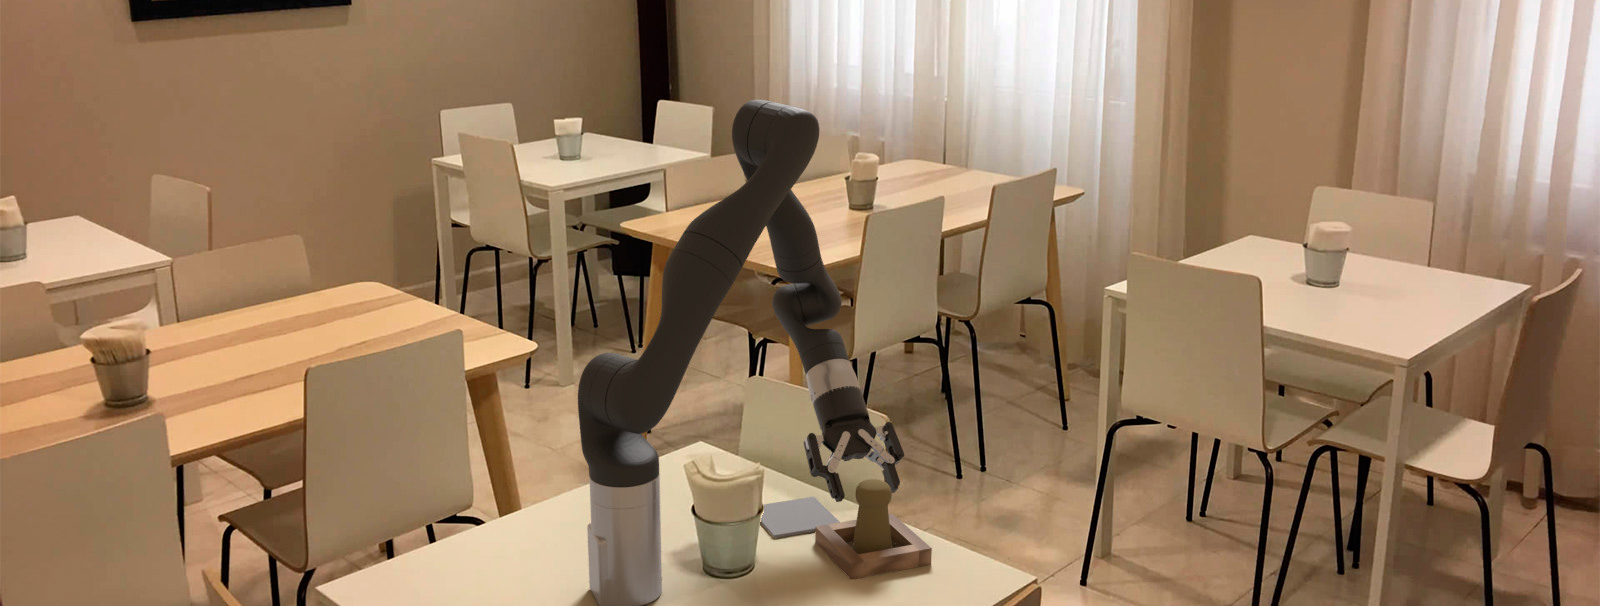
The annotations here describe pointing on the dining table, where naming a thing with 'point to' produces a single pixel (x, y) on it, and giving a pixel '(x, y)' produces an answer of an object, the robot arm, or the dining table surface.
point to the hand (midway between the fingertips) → (867, 495)
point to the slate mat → (795, 517)
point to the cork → (872, 517)
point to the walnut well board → (877, 562)
